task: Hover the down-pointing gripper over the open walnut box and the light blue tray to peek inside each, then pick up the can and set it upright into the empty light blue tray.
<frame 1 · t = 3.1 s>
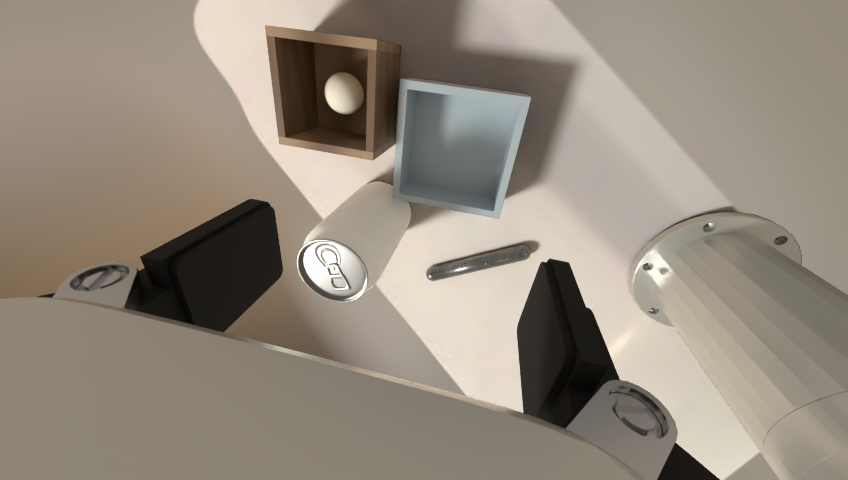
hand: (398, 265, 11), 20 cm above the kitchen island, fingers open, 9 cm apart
light blue tray: (458, 143, 28), on the kitchen island
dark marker: (475, 259, 34), on the kitchen island
can: (383, 208, 33), on the kitchen island
walnut box: (354, 92, 28), on the kitchen island
cream ball: (352, 92, 27), point 1 cm above the kitchen island, touching walnut box
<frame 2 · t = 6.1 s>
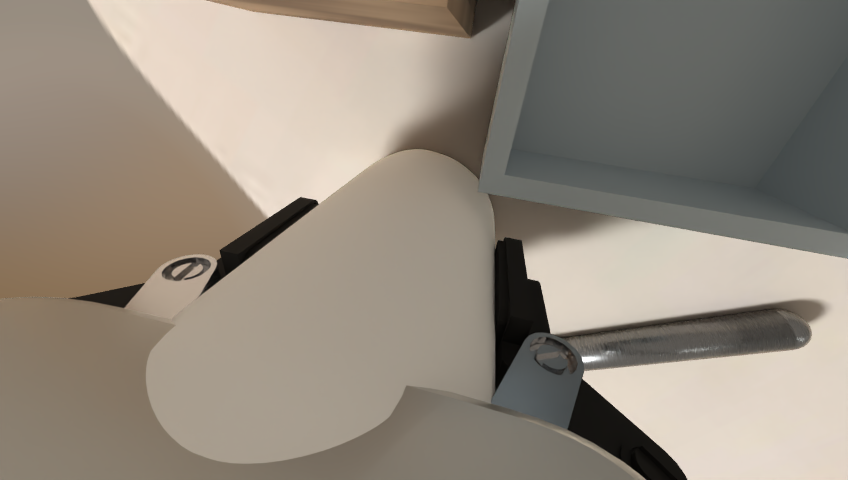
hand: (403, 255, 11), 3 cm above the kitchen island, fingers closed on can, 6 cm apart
light blue tray: (677, 23, 9), on the kitchen island
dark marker: (632, 333, 15), on the kitchen island
can: (422, 217, 14), on the kitchen island, touching gripper
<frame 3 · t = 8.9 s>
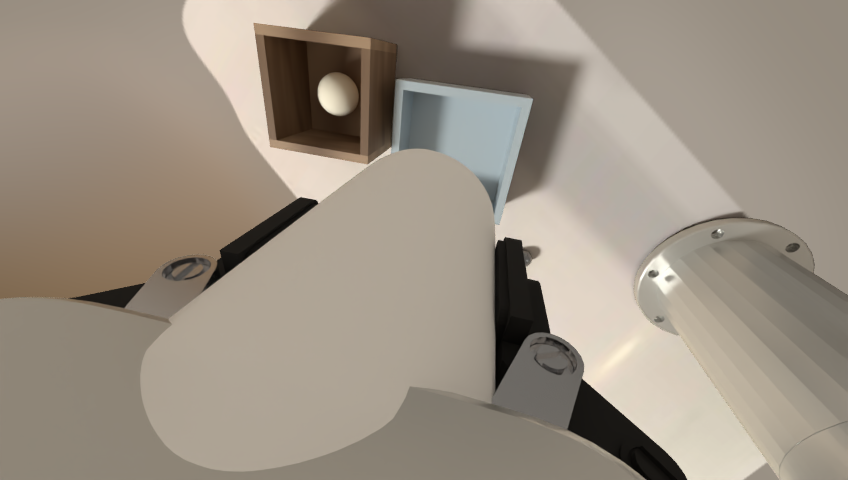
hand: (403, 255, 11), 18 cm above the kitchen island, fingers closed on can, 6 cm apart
light blue tray: (457, 146, 27), on the kitchen island
can: (422, 217, 14), point 15 cm above the kitchen island, touching gripper
walnut box: (349, 93, 27), on the kitchen island
cream ball: (346, 93, 26), point 1 cm above the kitchen island, touching walnut box
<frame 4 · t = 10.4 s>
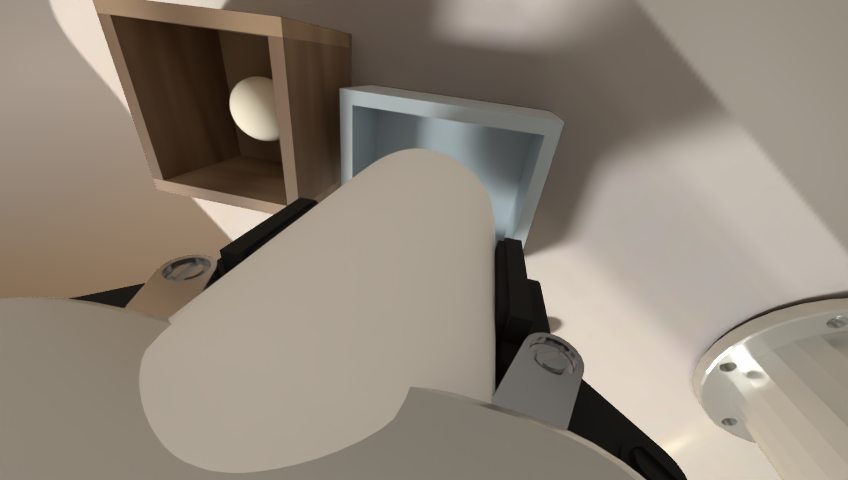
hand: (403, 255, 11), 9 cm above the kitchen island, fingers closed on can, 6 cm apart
light blue tray: (444, 183, 19), on the kitchen island
can: (422, 217, 14), point 5 cm above the kitchen island, touching gripper
walnut box: (288, 106, 18), on the kitchen island
cream ball: (282, 107, 18), point 1 cm above the kitchen island, touching walnut box
when the fingers open (6 cm above the kitchen island, at t = 11.6 s): can drops 2 cm, resting on light blue tray.
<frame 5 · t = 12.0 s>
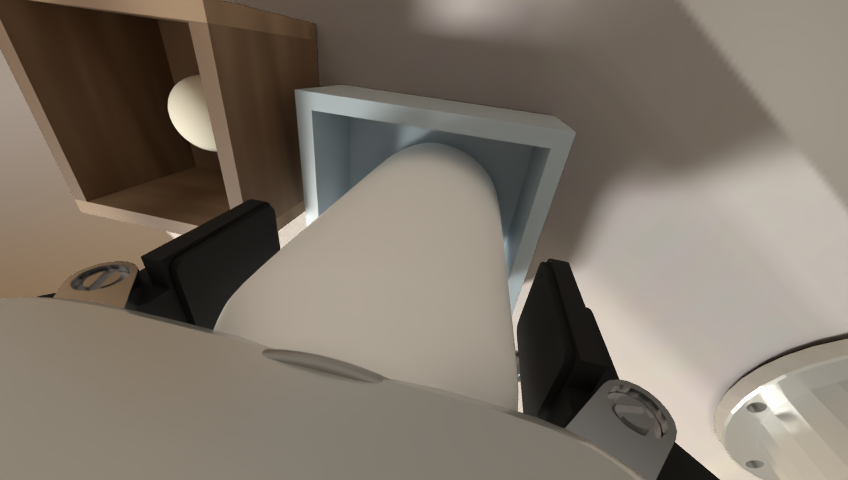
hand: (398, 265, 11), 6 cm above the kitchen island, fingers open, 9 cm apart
light blue tray: (431, 199, 16), on the kitchen island
can: (433, 205, 16), point 1 cm above the kitchen island, touching light blue tray
walnut box: (247, 109, 16), on the kitchen island
cream ball: (239, 110, 15), point 1 cm above the kitchen island, touching walnut box
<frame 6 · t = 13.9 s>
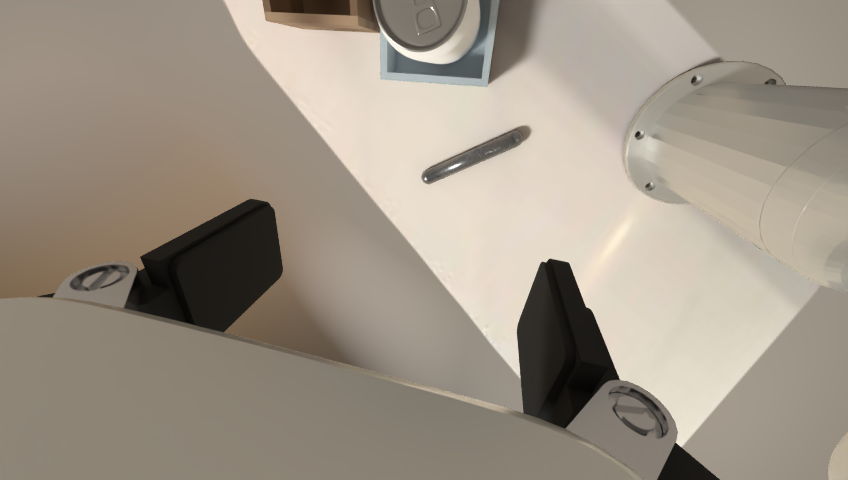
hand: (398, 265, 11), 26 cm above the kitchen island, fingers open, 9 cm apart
light blue tray: (443, 23, 28), on the kitchen island
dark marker: (469, 157, 34), on the kitchen island
can: (444, 23, 28), resting on light blue tray
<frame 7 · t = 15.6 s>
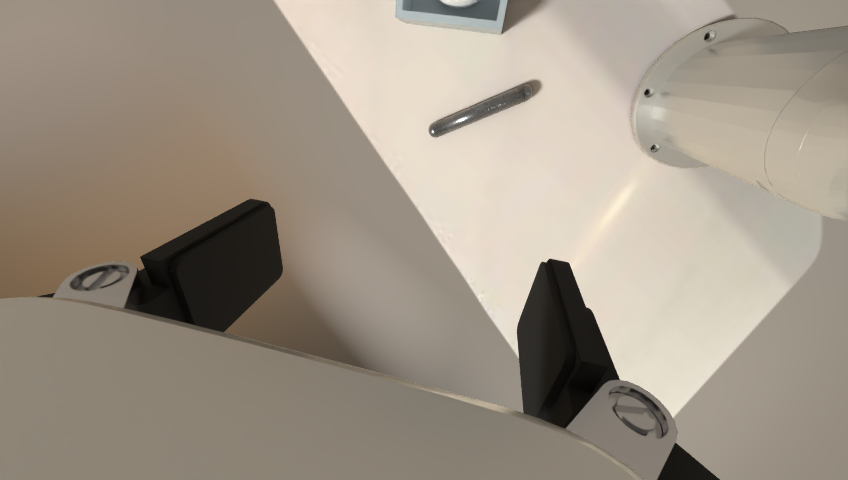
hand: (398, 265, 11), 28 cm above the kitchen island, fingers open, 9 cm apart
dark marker: (478, 111, 34), on the kitchen island
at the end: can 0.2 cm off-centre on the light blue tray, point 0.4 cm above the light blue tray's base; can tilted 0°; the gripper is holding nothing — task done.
